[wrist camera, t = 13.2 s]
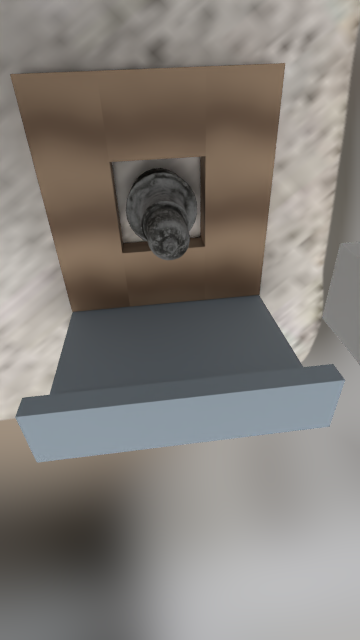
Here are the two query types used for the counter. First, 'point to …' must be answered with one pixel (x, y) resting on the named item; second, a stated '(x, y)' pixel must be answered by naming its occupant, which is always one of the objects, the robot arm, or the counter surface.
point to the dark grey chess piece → (162, 212)
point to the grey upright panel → (175, 380)
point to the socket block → (145, 144)
